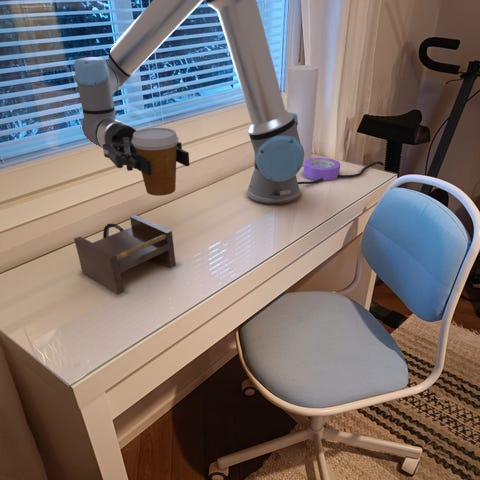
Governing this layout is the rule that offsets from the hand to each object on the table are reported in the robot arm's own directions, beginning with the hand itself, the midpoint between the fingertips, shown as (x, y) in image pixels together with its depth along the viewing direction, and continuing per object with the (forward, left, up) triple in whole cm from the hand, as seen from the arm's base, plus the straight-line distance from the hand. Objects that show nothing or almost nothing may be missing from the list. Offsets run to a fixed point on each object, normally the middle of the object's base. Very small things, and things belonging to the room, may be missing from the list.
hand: (168, 163), depth 92 cm
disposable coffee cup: (-1, -5, -7) cm, 9 cm away
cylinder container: (-75, -21, -22) cm, 81 cm away
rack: (+10, -5, -22) cm, 25 cm away
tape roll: (-69, -7, -22) cm, 73 cm away
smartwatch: (+5, -18, -22) cm, 29 cm away
